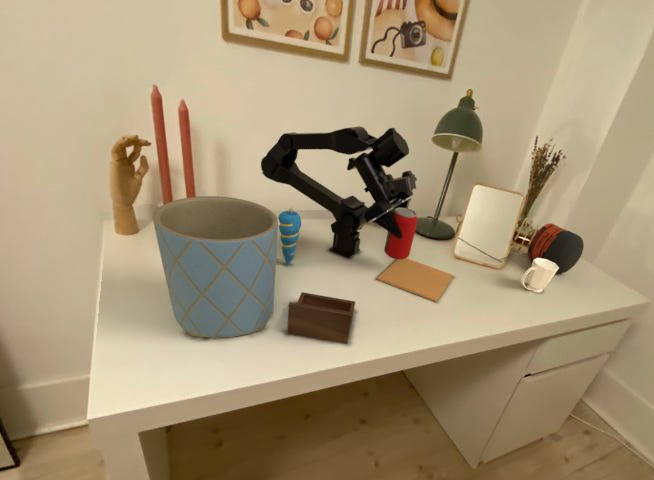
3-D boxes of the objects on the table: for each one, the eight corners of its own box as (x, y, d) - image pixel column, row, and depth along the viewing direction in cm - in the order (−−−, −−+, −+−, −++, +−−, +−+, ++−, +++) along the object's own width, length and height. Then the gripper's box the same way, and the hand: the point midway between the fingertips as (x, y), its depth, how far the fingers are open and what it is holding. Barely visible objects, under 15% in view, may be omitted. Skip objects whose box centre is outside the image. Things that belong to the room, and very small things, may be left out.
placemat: (377, 279, 95) (377, 277, 95) (400, 258, 108) (400, 256, 108) (436, 302, 91) (436, 300, 91) (452, 276, 104) (453, 274, 104)
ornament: (273, 264, 92) (274, 205, 84) (285, 257, 96) (287, 200, 88) (291, 271, 91) (293, 212, 83) (302, 263, 95) (306, 206, 87)
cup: (552, 294, 106) (564, 269, 102) (526, 297, 102) (538, 271, 97) (534, 281, 111) (546, 257, 107) (509, 283, 107) (520, 258, 102)
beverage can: (394, 247, 103) (403, 204, 96) (413, 257, 100) (424, 214, 93) (378, 252, 98) (386, 208, 91) (397, 263, 95) (408, 219, 88)
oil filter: (544, 257, 129) (561, 221, 121) (575, 274, 121) (595, 237, 114) (521, 261, 122) (537, 224, 114) (552, 280, 114) (572, 241, 107)
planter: (173, 289, 77) (158, 193, 66) (269, 285, 84) (270, 198, 73) (167, 349, 63) (145, 240, 52) (283, 339, 70) (286, 241, 59)
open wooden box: (301, 301, 81) (302, 273, 78) (353, 310, 82) (358, 283, 78) (287, 334, 72) (288, 304, 68) (347, 344, 73) (351, 315, 69)
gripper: (384, 165, 80) (419, 230, 83) (414, 154, 94) (443, 210, 98) (347, 191, 86) (381, 250, 89) (380, 177, 101) (409, 228, 104)
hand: (406, 233), depth 95 cm, fingers closed on beverage can, 7 cm apart
